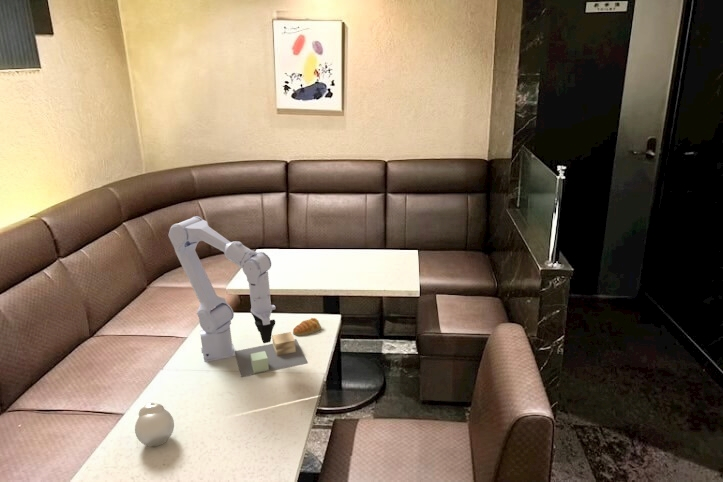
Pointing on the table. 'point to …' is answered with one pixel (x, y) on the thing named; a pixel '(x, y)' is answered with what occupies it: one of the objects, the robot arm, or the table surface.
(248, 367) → the mat
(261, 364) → the green block
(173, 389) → the table surface
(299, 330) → the pastry
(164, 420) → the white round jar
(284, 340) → the tower top slab
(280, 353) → the tower base slab
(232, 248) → the robot arm
